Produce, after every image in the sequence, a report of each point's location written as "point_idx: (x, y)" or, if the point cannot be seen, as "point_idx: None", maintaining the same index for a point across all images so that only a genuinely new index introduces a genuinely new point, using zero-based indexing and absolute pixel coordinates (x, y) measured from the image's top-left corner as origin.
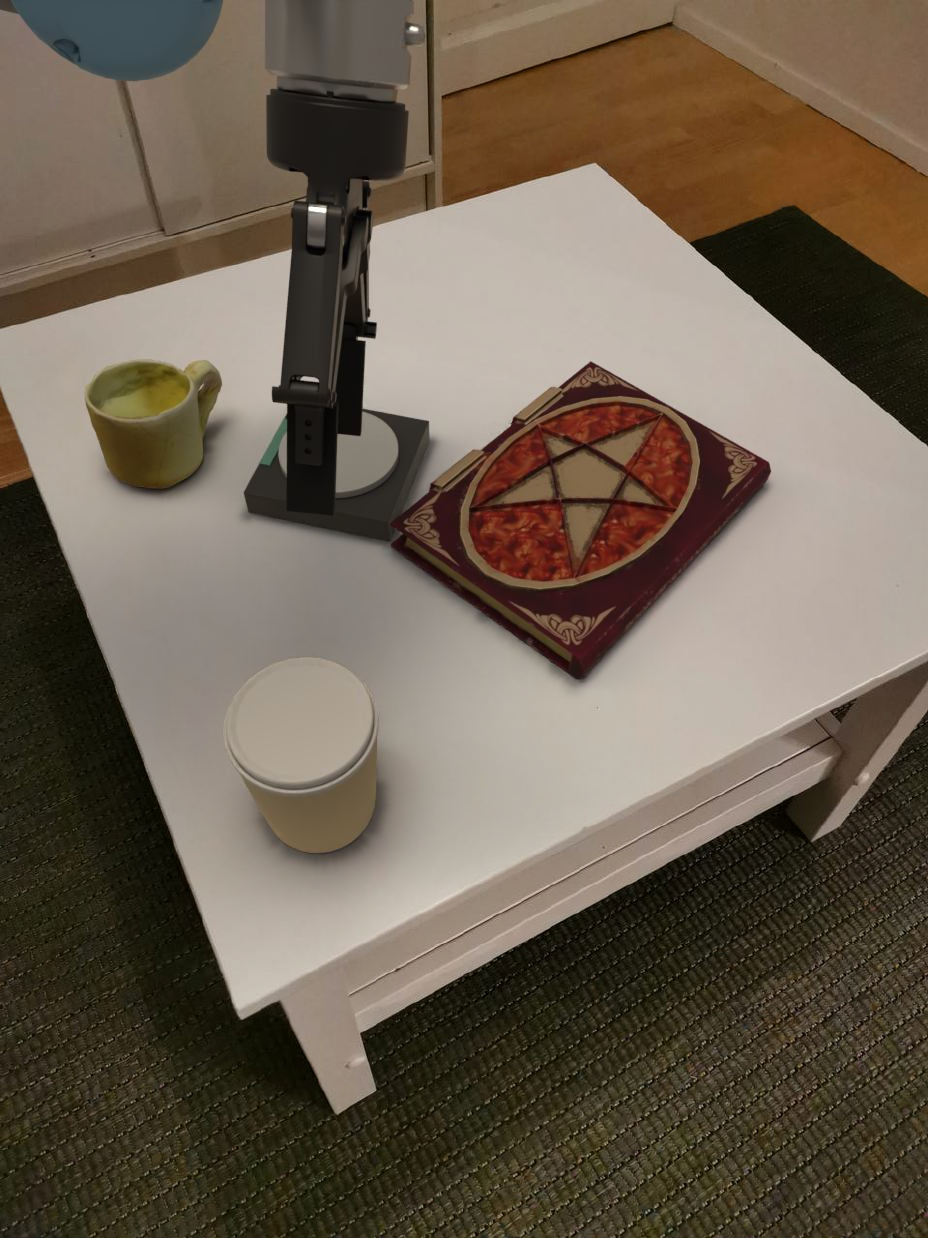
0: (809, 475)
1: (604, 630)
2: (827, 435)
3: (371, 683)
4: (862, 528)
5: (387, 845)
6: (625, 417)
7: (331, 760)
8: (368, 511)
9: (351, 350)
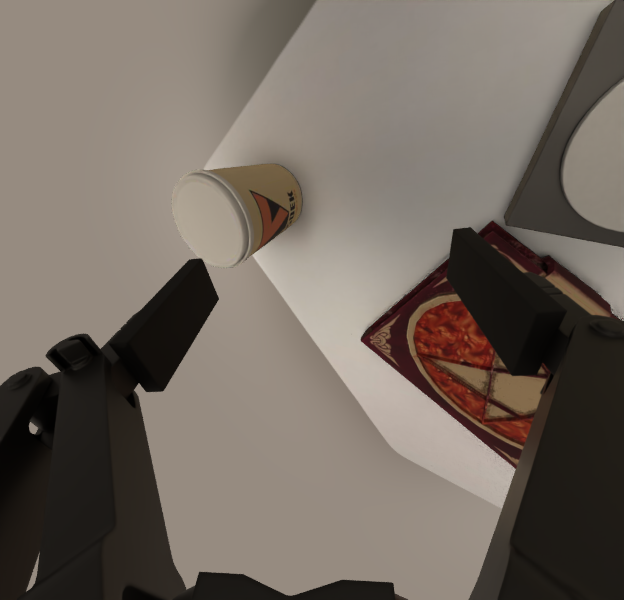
0: None
1: (381, 356)
2: None
3: (352, 216)
4: (475, 477)
5: None
6: None
7: (195, 246)
8: (527, 203)
9: (510, 345)
